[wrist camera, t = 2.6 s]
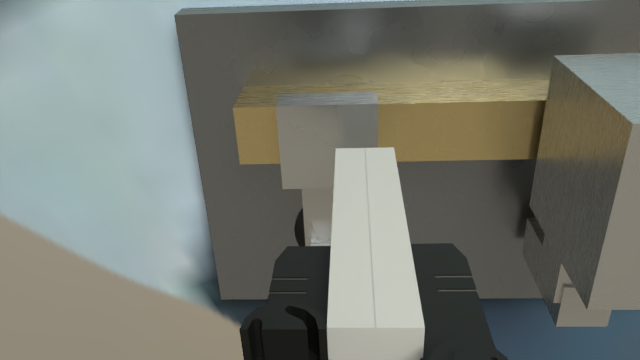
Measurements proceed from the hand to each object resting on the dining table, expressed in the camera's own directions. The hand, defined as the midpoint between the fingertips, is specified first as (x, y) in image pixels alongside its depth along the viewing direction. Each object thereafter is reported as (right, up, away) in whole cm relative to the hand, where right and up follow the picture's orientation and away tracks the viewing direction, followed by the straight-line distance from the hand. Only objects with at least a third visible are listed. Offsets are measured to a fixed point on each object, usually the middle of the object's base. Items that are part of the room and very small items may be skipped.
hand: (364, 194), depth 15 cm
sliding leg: (+7, +1, +5) cm, 9 cm away
